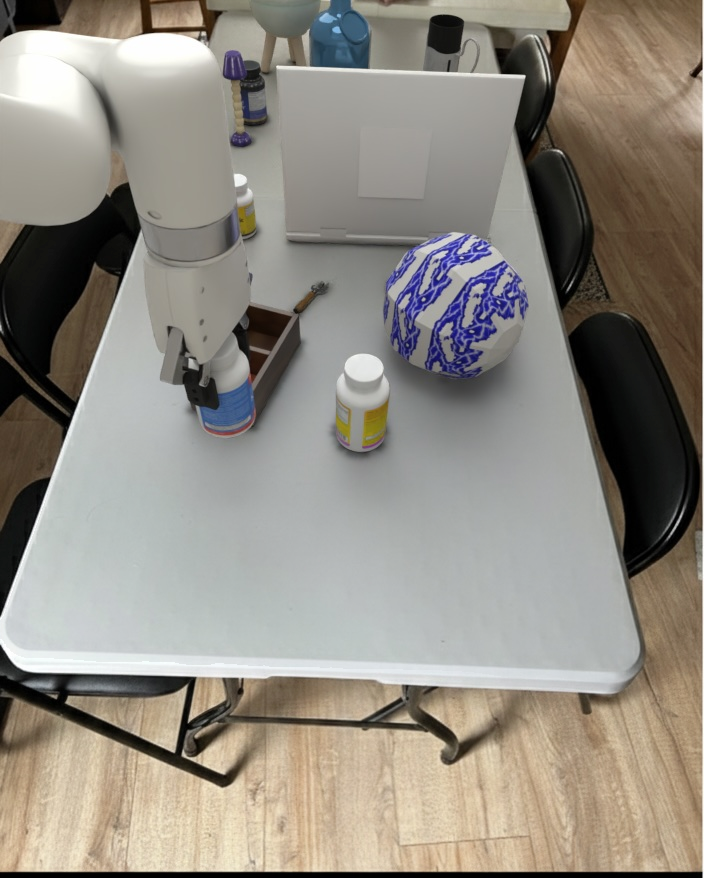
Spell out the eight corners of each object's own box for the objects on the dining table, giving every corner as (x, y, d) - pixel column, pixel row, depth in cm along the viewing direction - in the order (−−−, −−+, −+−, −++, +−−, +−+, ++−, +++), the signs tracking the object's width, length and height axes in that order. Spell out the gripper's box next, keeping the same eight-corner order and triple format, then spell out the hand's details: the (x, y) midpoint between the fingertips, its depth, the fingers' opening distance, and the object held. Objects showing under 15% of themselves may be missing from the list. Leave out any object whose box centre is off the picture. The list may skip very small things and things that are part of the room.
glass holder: (435, 82, 149) (445, 10, 137) (481, 103, 143) (495, 30, 131) (410, 92, 146) (418, 19, 134) (456, 114, 140) (468, 40, 128)
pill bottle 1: (267, 422, 67) (258, 348, 58) (218, 449, 65) (201, 376, 56) (237, 387, 70) (224, 312, 61) (188, 412, 67) (168, 337, 59)
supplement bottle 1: (219, 234, 110) (211, 182, 102) (238, 219, 112) (231, 167, 105) (244, 244, 108) (238, 192, 100) (262, 228, 111) (258, 177, 103)
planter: (321, 85, 146) (320, -29, 129) (252, 84, 145) (242, -31, 128) (320, 56, 156) (319, -54, 138) (256, 55, 155) (247, -56, 137)
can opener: (298, 315, 97) (297, 310, 96) (286, 309, 98) (286, 304, 97) (333, 287, 102) (333, 281, 101) (321, 281, 102) (321, 275, 101)
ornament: (446, 364, 72) (336, 276, 80) (462, 429, 89) (371, 351, 98) (563, 250, 73) (443, 176, 82) (557, 335, 91) (458, 267, 100)
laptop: (469, 171, 125) (500, 8, 102) (485, 251, 109) (526, 78, 86) (296, 165, 124) (289, -1, 102) (286, 244, 108) (275, 68, 86)
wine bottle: (298, 98, 142) (293, -66, 118) (345, 84, 147) (348, -76, 123) (334, 122, 136) (335, -46, 112) (381, 106, 141) (392, -58, 117)
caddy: (191, 409, 85) (184, 381, 81) (245, 328, 95) (241, 299, 91) (252, 427, 83) (248, 400, 79) (300, 342, 94) (299, 314, 89)
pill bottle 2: (235, 115, 136) (229, 60, 127) (261, 110, 138) (257, 56, 129) (244, 128, 133) (239, 73, 124) (271, 123, 134) (267, 68, 126)
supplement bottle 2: (390, 421, 85) (398, 354, 75) (378, 459, 81) (385, 393, 71) (343, 410, 86) (345, 342, 76) (329, 447, 82) (329, 380, 72)
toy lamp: (230, 135, 131) (219, 48, 117) (252, 134, 131) (244, 47, 118) (231, 147, 128) (220, 58, 115) (254, 146, 128) (245, 57, 115)
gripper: (200, 159, 54) (226, 317, 68) (83, 275, 44) (142, 432, 58) (280, 178, 53) (289, 335, 67) (177, 302, 43) (214, 455, 57)
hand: (220, 379), depth 62 cm, fingers closed on pill bottle 1, 6 cm apart
